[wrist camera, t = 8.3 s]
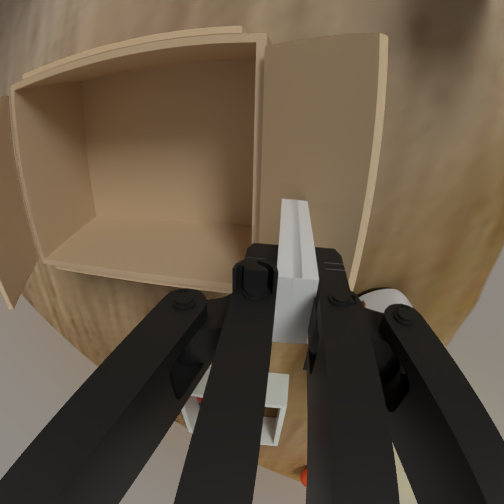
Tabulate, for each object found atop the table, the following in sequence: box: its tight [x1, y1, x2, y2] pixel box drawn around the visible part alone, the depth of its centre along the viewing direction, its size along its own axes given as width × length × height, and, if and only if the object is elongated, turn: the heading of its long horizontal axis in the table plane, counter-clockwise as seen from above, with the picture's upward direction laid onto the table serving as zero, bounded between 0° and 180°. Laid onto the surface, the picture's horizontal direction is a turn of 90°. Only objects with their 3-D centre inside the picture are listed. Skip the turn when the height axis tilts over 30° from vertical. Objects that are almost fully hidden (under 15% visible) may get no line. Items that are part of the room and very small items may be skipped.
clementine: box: [301, 468, 307, 487], centre depth 61 cm, size 8×7×7 cm
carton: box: [11, 26, 272, 293], centre depth 24 cm, size 22×19×11 cm
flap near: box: [259, 33, 388, 344], centre depth 15 cm, size 8×16×1 cm
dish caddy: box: [181, 365, 289, 446], centre depth 46 cm, size 17×16×6 cm
